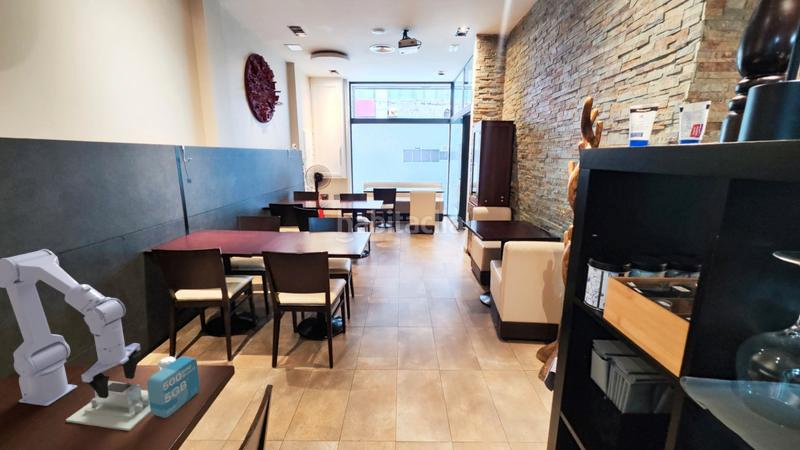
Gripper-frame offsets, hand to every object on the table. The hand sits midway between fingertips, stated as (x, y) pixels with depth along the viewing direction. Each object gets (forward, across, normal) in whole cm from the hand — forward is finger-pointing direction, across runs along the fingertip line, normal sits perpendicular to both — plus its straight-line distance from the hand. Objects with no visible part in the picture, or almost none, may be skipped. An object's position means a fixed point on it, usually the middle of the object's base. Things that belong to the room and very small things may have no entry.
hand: (117, 387), depth 90 cm
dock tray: (+7, 0, 0) cm, 7 cm away
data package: (+7, +4, -14) cm, 16 cm away
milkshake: (+7, +11, -6) cm, 14 cm away
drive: (+6, 0, 0) cm, 6 cm away
